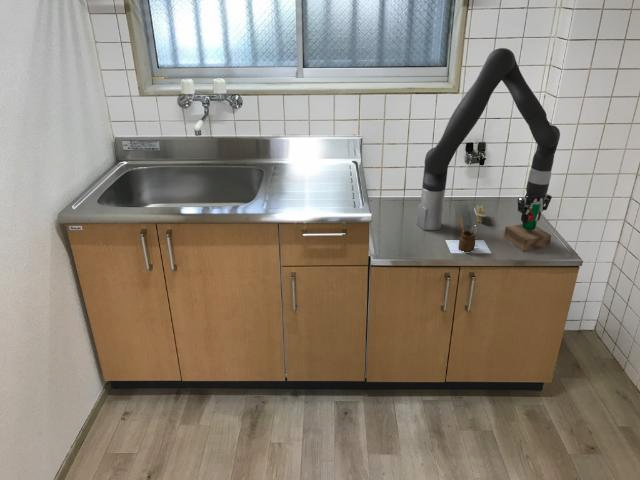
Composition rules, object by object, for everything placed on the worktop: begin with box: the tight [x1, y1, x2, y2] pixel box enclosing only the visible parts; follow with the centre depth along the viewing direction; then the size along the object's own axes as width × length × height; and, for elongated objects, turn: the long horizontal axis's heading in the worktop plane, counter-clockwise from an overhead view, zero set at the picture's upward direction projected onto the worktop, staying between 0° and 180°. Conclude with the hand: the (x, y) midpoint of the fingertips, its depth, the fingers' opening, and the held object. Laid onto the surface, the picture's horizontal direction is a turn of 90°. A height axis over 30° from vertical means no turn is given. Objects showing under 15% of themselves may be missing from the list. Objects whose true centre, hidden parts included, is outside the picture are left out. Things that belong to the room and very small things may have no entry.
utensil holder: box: [458, 218, 477, 253], centre depth 192 cm, size 6×6×12 cm
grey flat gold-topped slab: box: [473, 204, 487, 225], centre depth 217 cm, size 12×18×7 cm, turn 172°
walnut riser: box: [503, 223, 552, 252], centre depth 199 cm, size 12×12×5 cm
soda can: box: [521, 201, 541, 230], centre depth 194 cm, size 5×5×12 cm
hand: (529, 221), depth 196 cm, fingers closed on soda can, 5 cm apart
